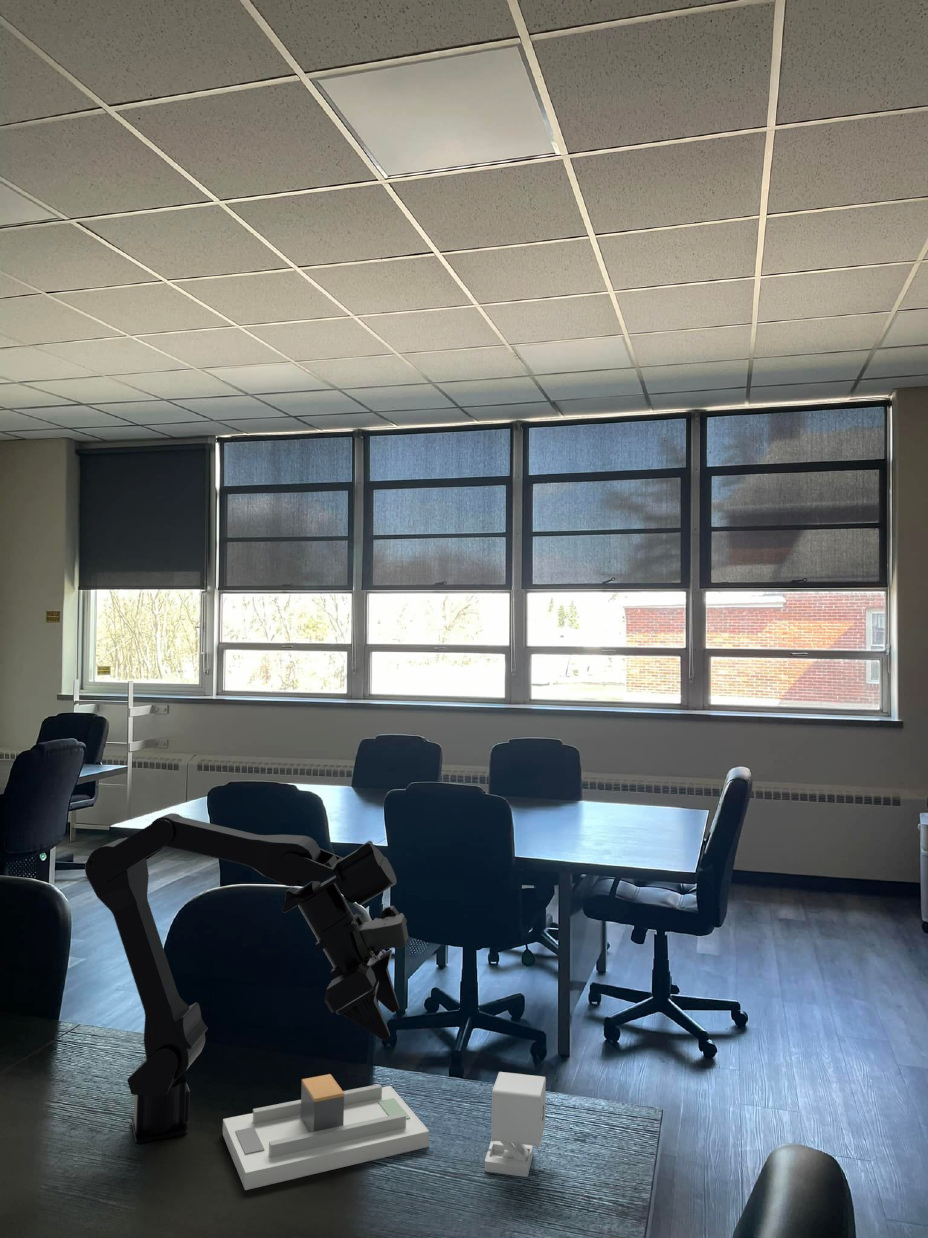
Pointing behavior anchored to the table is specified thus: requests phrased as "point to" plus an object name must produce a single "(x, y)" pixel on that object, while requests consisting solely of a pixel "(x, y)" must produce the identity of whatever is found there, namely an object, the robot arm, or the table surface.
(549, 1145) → the table surface
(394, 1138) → the white rail tray
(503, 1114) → the security camera
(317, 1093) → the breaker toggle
